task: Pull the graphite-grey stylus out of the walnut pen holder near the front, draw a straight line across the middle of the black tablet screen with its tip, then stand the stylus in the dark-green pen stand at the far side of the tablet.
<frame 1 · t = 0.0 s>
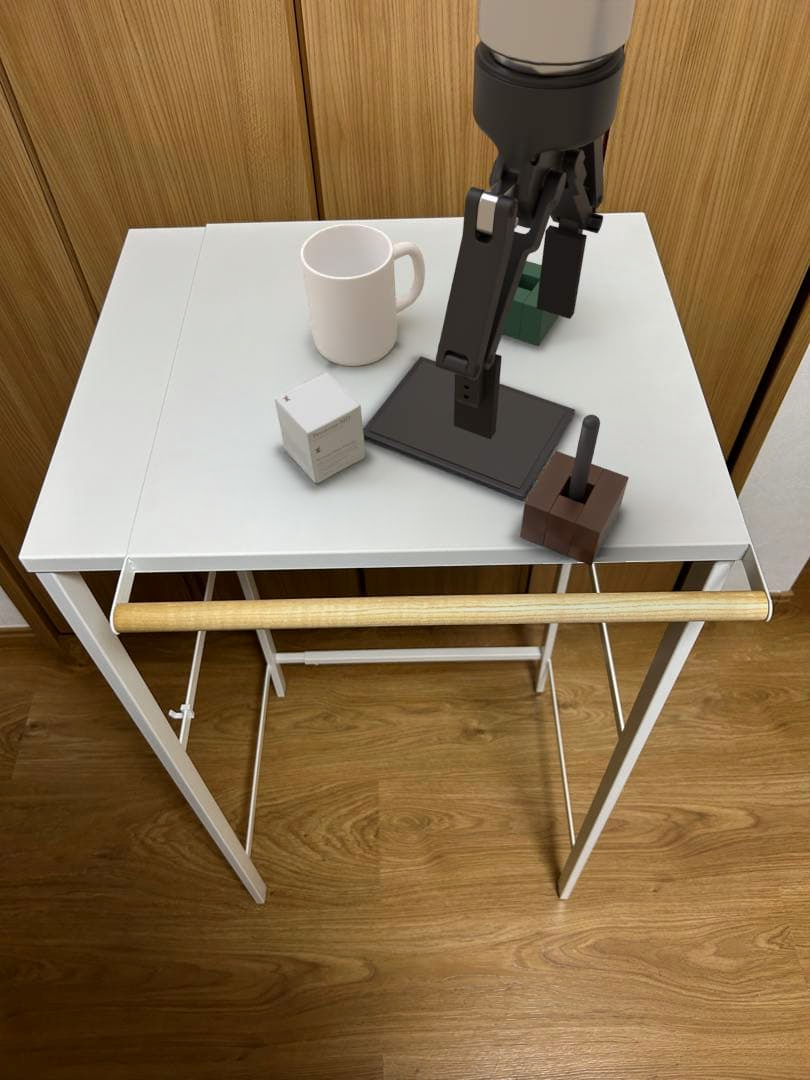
hand: (517, 366, 58), 22 cm above the table, tool pointing down, fingers open, 13 cm apart
tablet: (467, 425, 85), on the table
holder: (569, 524, 77), on the table
cup: (372, 335, 94), on the table
stylus: (580, 475, 72), in the holder
skincare box: (325, 455, 84), on the table
stand: (522, 318, 95), on the table
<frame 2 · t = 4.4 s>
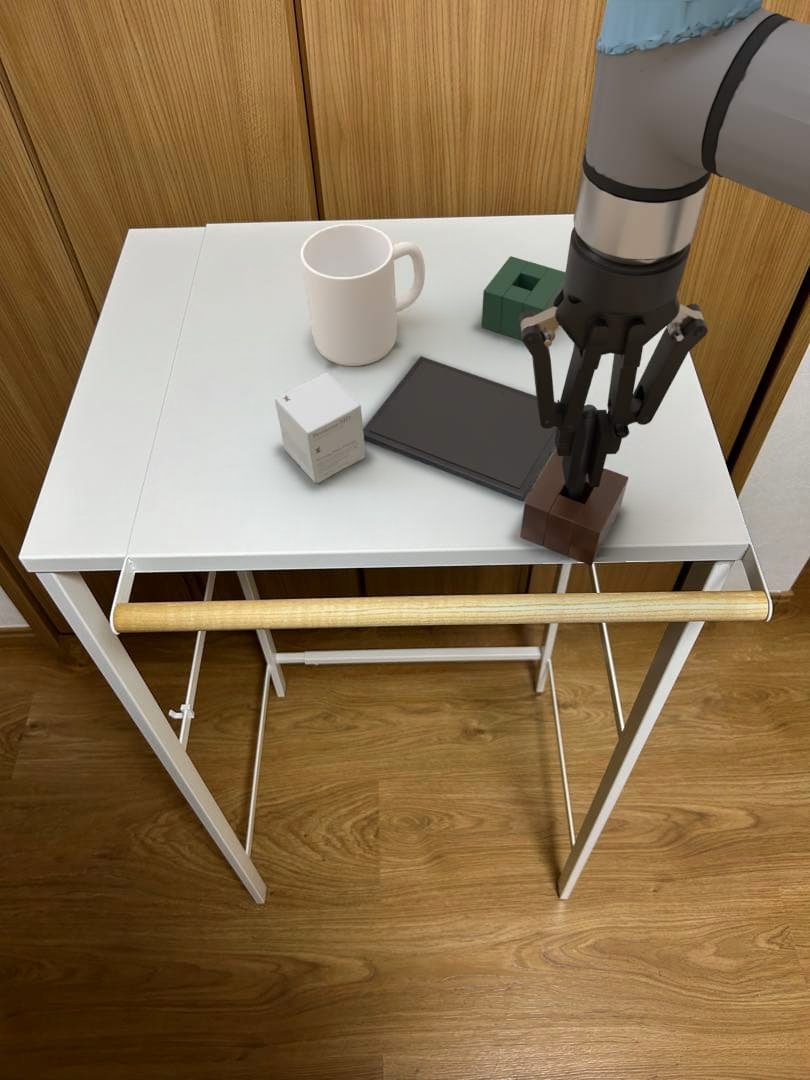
hand: (580, 475, 72), 7 cm above the table, tool pointing down, fingers closed on stylus
stylus: (579, 469, 72), in the holder, tilted 5°, touching gripper
everything else where it was.
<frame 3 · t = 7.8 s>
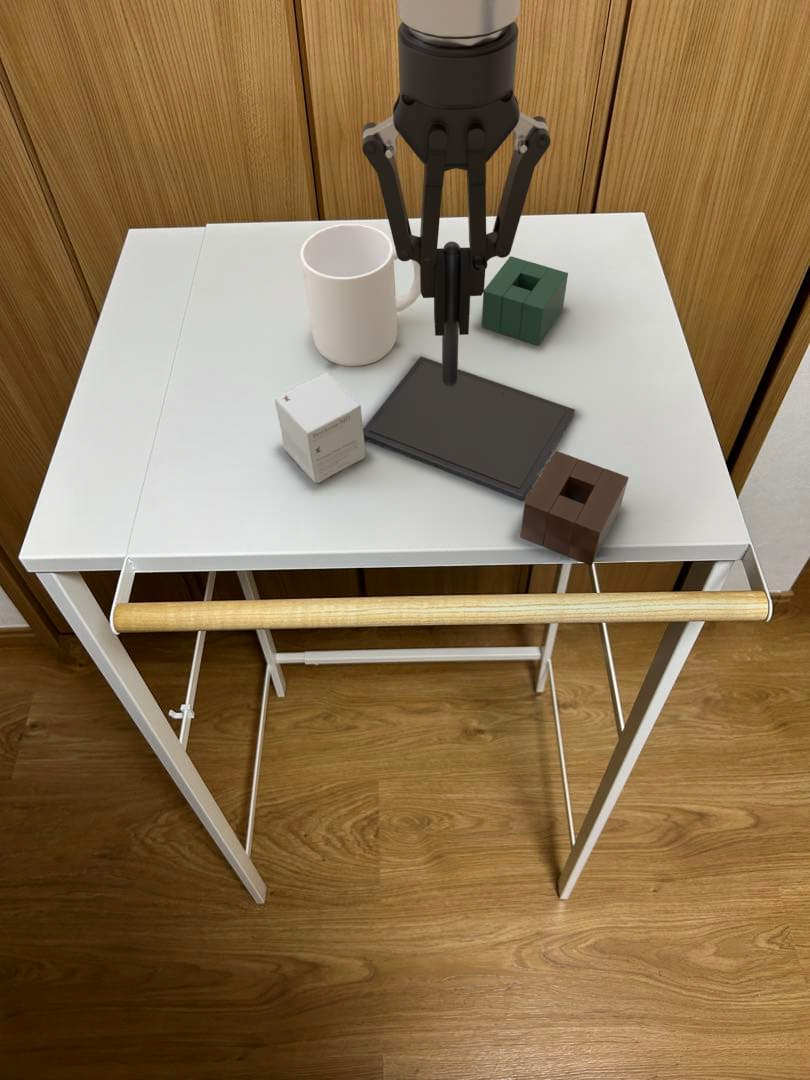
hand: (451, 324, 70), 16 cm above the table, tool pointing down, fingers closed on stylus
stylus: (450, 318, 71), point 16 cm above the table, touching gripper
everything else where it was.
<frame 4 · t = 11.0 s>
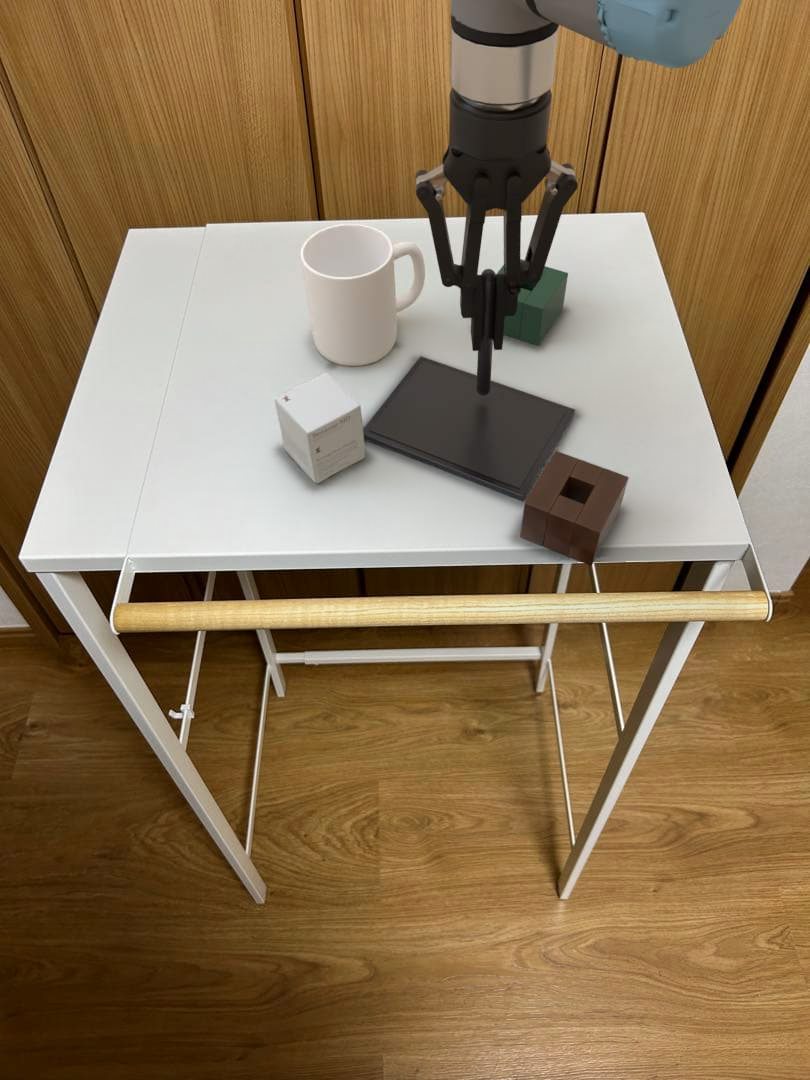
hand: (486, 340, 80), 9 cm above the table, tool pointing down, fingers closed on stylus
stylus: (485, 336, 80), point 9 cm above the table, tilted 6°, touching gripper
everything else where it was.
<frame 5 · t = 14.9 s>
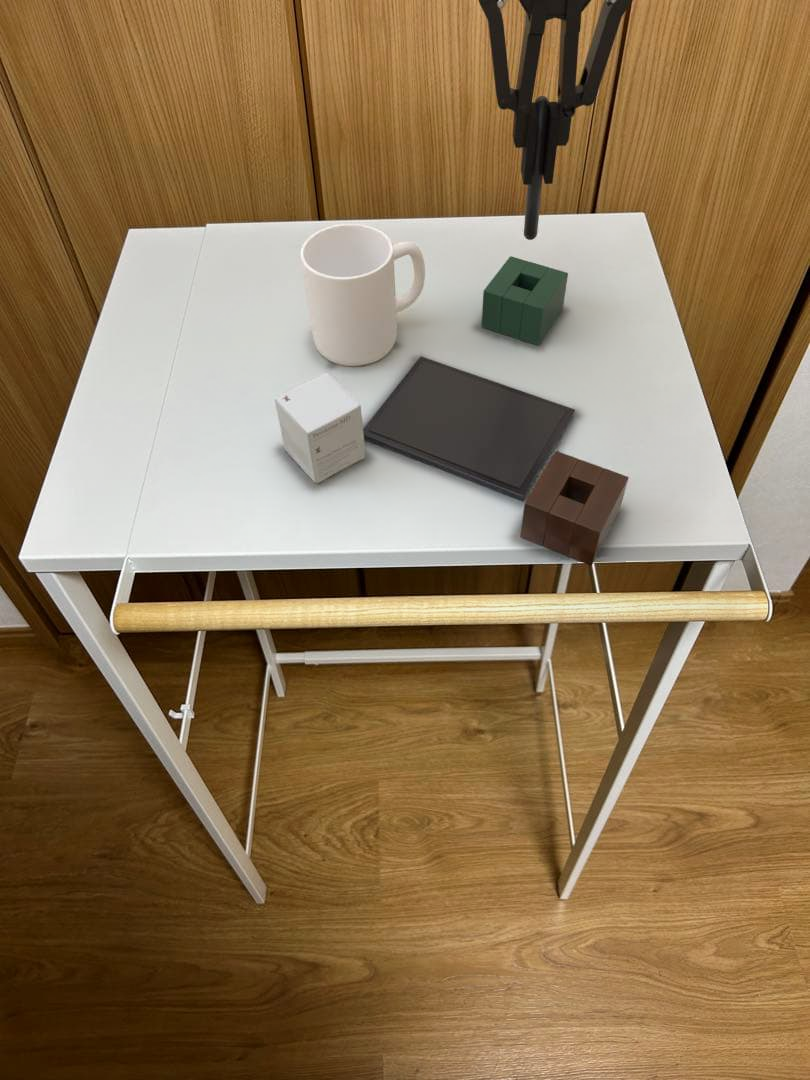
hand: (536, 176, 81), 17 cm above the table, tool pointing down, fingers closed on stylus
stylus: (535, 172, 81), point 17 cm above the table, tilted 5°, touching gripper
everything else where it was.
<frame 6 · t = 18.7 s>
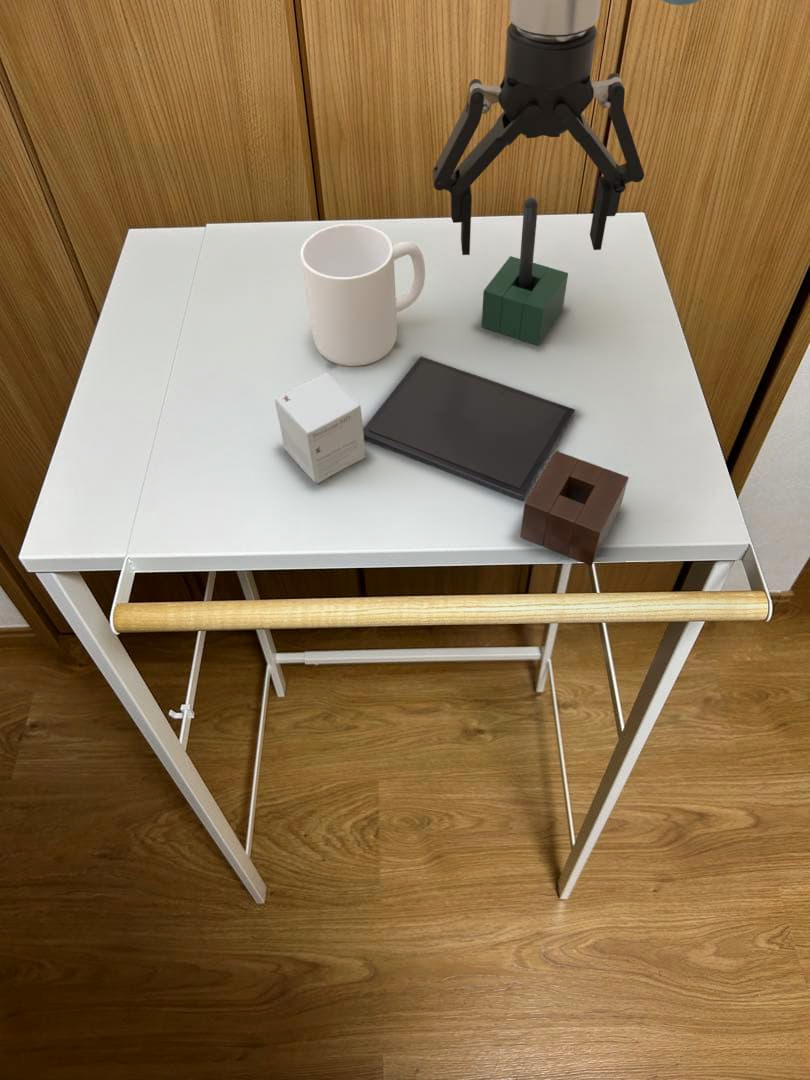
hand: (530, 245, 87), 10 cm above the table, tool pointing down, fingers open, 13 cm apart
stylus: (526, 261, 90), in the stand, tilted 6°
everything else where it was.
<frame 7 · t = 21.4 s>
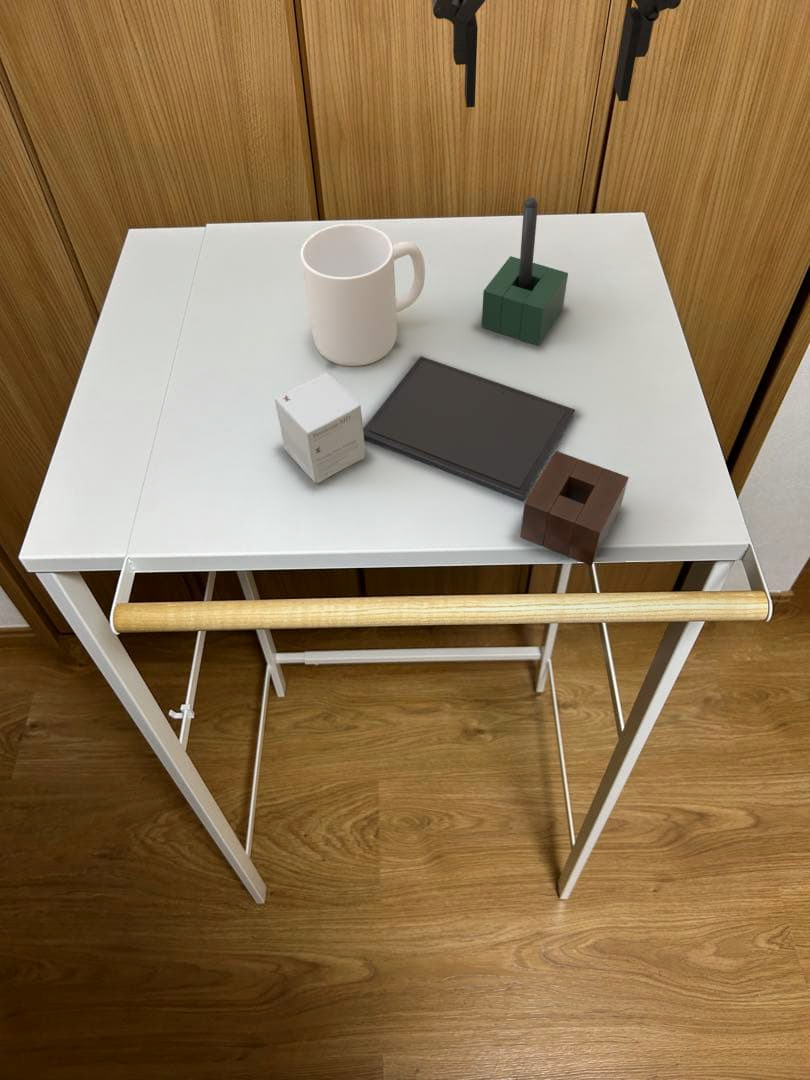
hand: (545, 97, 75), 25 cm above the table, tool pointing down, fingers open, 13 cm apart
nothing on the table moved.
at the end: stylus 0.1 cm off-centre in the stand, point 7.0 cm above the stand's base; stylus tilted 6°; the gripper is holding nothing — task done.
